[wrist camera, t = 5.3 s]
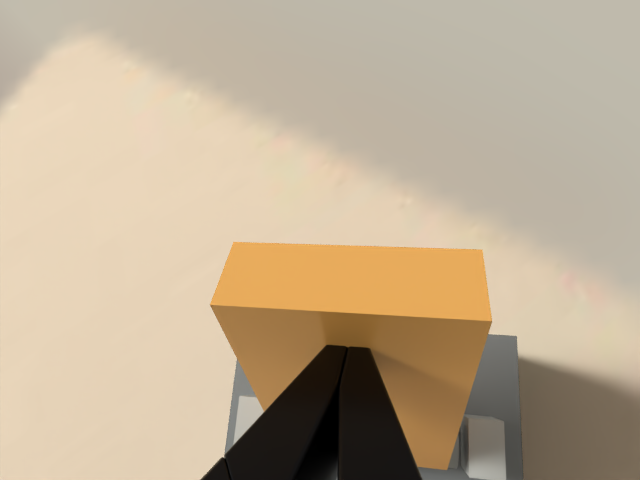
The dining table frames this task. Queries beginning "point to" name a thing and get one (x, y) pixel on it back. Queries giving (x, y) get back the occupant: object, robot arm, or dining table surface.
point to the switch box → (476, 427)
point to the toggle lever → (364, 325)
